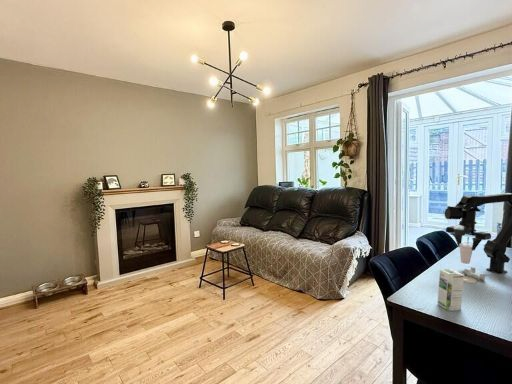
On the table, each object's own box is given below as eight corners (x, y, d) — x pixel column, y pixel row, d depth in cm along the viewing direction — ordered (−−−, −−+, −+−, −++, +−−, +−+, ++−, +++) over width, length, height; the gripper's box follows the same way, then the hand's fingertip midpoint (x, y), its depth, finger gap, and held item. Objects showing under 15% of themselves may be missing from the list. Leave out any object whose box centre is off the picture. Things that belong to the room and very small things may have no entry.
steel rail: (471, 272, 141) (472, 267, 141) (492, 279, 133) (492, 273, 133) (463, 275, 138) (463, 269, 138) (483, 281, 130) (483, 275, 130)
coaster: (462, 275, 138) (462, 274, 138) (480, 281, 131) (480, 280, 131) (452, 278, 135) (452, 277, 135) (470, 284, 128) (470, 283, 128)
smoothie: (475, 265, 141) (477, 238, 140) (461, 264, 143) (463, 238, 141) (468, 260, 148) (470, 235, 146) (455, 260, 149) (457, 235, 148)
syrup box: (436, 303, 110) (438, 269, 109) (450, 303, 111) (452, 268, 109) (447, 311, 105) (449, 274, 103) (462, 310, 105) (464, 274, 104)
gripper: (440, 217, 148) (438, 245, 150) (479, 224, 131) (477, 256, 133) (453, 216, 153) (451, 243, 154) (492, 222, 136) (490, 253, 137)
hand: (466, 248), depth 144 cm, fingers closed on smoothie, 6 cm apart
